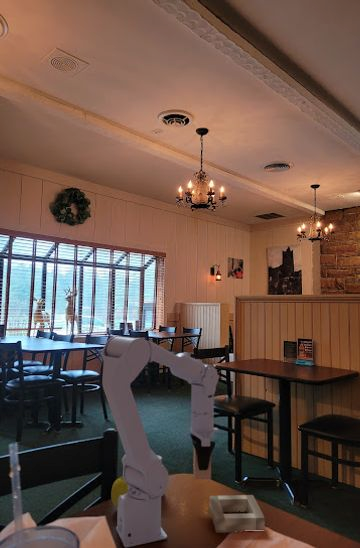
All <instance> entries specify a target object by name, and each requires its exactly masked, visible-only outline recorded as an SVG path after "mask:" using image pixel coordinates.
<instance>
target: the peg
mask: <svg viewBox="0 0 360 548" xmlns="http://www.w3.org/2000/svg"><path fill="white" fill-rule="evenodd" d="M192 462H193V469H192V470H193V471H192V472H193V476H194V480H212V455H211V456H210V461H209V466H208V470H199V467H198V462H197V454H196V450H195V448H194V447H193V461H192Z"/></svg>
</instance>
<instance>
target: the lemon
mask: <svg viewBox="0 0 360 548" xmlns="http://www.w3.org/2000/svg"><path fill="white" fill-rule="evenodd" d="M128 492H129V490H128V483H126V482H125V480H124V478H123V475H122V476H120V477H119V478H117V479H116V480H115V481H114V482H113V484H112V488H111V493H110V497H111V501H112V504H113V506H114V507H115V508H117V509H118V498H119V496H121V495H124V494H126V493H128Z"/></svg>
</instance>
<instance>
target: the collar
mask: <svg viewBox="0 0 360 548" xmlns="http://www.w3.org/2000/svg"><path fill="white" fill-rule="evenodd" d="M209 510H210V515H211V519H212V523H213V526H214V530H215V533H219V534H220V533H222V534H223V533H236V532H235V531H245V530H266V524H265V518H266V517H265V516H264V513H263V511H262V510H261V507H260V506H259V504H258V502H257V500H256V498H255V495H254V494H242V495H241V494H240V495H239V494H238V495H237V494H236V495H233V494H232V495H227V494H226V495H209ZM239 511H240V512H241V513H240V512H239ZM245 511H246V512H247V513H246V512H245ZM233 512H234V513H233ZM236 512H237V513H236ZM242 512H243V513H242ZM244 512H245V513H244Z"/></svg>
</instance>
